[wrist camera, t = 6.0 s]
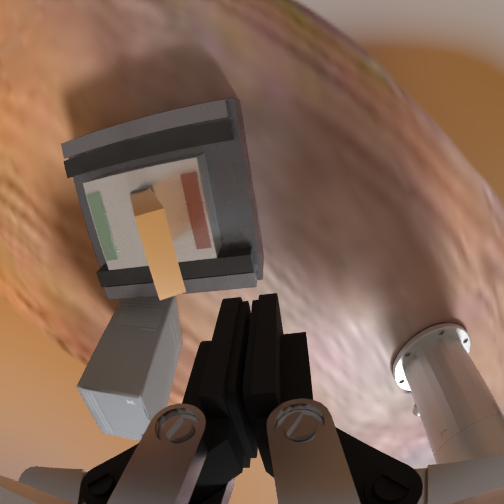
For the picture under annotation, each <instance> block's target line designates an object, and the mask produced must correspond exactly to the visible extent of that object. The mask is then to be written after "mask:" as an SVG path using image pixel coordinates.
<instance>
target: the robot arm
mask: <svg viewBox="0 0 504 504" xmlns="http://www.w3.org/2000/svg"><path fill="white" fill-rule="evenodd" d="M470 346H471V341H470V337H469V335H468V333H467V332H466V330H465V329H464V328H463V327H462V326H460V325H458V324H454V323H443V324H438V325H435V326H432V327H429V328H427V329H425V330H423V331H422V332H420V333H419V334H417V335H416V336H414V337H413V338H412V339H411V340H410V341H408V343H407V344H406V345H405V346H404V347H403V348H402V349H401V351H400V352H399V353H398V355H397V357H396V359H395V361H394V365H393V376H394V379H395V381H396V383H397V384H398V385H399V387H401V388H403V389H405V390H408V391H411V393H412V395H413V398H414V401H415V405H414V408H413V414H414V415H416V416H420V417H421V420H422V422H423V425H424V428H425V431H426V434H427V437H428V440H429V442H430V445H431V448H432V452H433V455H434V458H435V461H436V464H435V465H428V466H427V468H422V469H413V468H412V467H410V466H409V465H407V464H405V463H402V462H400V461H398V460H396V459H394V458H392V457H390V456H388V455H386V454H384V453H382V452H380V451H378V450H377V449H375V448H373V447H371V446H369V445H367V444H365V443H363V442H361V441H360V440H358V439H356V438H354V437H352V436H350V435H349V434H347V433H345V432H343V431H341V430H340V429H338V428H336V427H335V425H334V422H333V419H332V416H331V414H330V412H329V411H328V409H327V408H326V407H325V406H324V405H323V404H321V403H320V402H317V401H315V400H313V394H312V384H311V374H310V365H309V356H308V347H307V338H306V332H301V333H292V334H283V328H282V321H281V315H280V308H279V301H278V295H277V293H274V294H265V295H259V300H253V302H252V311H250V306H249V303H248V301H243V302H242V299H241V297H237V298H228V299H223V300H222V303H221V307H220V311H219V315H218V319H217V322H216V326H215V330H214V334H213V338H212V341H202V342H201V343H200V345H199V348H198V351H197V355H196V358H195V361H194V365H193V368H192V371H191V375H190V378H189V382H188V385H187V388H186V392H185V395H184V399H183V402H182V404H175V405H170V406H168V407H166V408H164V409H162V410H160V411H159V412H158V413H157V414H156V415H155V416H154V417H153V419H152V420H151V422H150V423H149V425H148V427H147V429H146V431H145V433H144V435H143V436H142V438H141V440H140V442H139V443H138V444H137V445H135V446H133V447H131V448H130V449H128V450H126V451H124V452H123V453H121V454H119V455H117V456H115V457H114V458H111V459H110V460H108V461H106V462H104V463H102V464H100V465H98V466H96V467H95V468H93V469H91V470H90V471H89V472H85V471H84V470H83V469H63V468H49V467H48V468H47V467H37V466H36V467H30V468H28V469H26V470H25V471H24V472H23V473H22V474H21V476H20V478H19V481H15V480H13V479H10V478H7V477H3V476H0V504H228V503H229V500H230V496H231V493H232V490H233V487H234V480H235V479H234V478H235V477H236V476H238V475H239V474H240V473H242V470H243V468H249V467H250V458H256V457H257V450H258V449H259V452H260V455H261V458H262V461H263V464H264V467H265V470H266V472H267V473H269V474H270V475H271V476H272V477H274V479H275V485H276V492H277V498H278V504H504V416H503V414H502V412H501V410H500V408H499V406H498V404H497V402H496V401H495V399H494V397H493V395H492V393H491V392H490V390H489V388H488V386H487V385H486V383H485V381H484V379H483V378H482V376H481V374H480V373H479V371H478V369H477V368H476V366H475V364H474V363H473V361H472V359H471V358H470V356H469V351H470Z"/></svg>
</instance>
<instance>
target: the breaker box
mask: <svg viewBox="0 0 504 504" xmlns="http://www.w3.org/2000/svg"><path fill="white" fill-rule="evenodd" d="M61 146H62V150H63V155H64V159H65V158H68V157H69V160H66V161H64V165H65V170H66V174H67V178H70V177H73V179H74V183H75V187H76V190H77V194H78V198H79V202H80V205H81V209H82V212H83V216H84V219H85V222H86V226H87V229H88V232H89V235H90V239H91V242H92V245H93V248H94V251H95V254H96V257H97V260H98V262H99V265H100V269H99V270H98V271H97V272H96V273H97V275H98V278H99V281H100V283H101V286H102V287H103V288H104V290H105V293H106V296H107V298H108V299H122V298H136V297H149V296H158V293H157V290H156V287H155V284H154V281H153V278H152V275H151V272H150V268H149V265H148V262H147V259H146V255H145V252H144V248H143V245H142V241H141V238H140V234H139V231H138V227H137V224H136V220H135V216H134V212H133V207H132V203H131V199H130V194H129V193H130V192H131V191H132V190H135V189H138V188H141V187H148V188H149V187H150V189H151V190H152V192H153V193H154V194H155V196H156V197H157V199H158V200H159V201H160V203H161V204H162V206H163V207H164V209H165V213H166V217H167V221H168V225H169V229H170V233H171V237H172V241H173V245H174V249H175V253H176V256H177V260H178V264H179V268H180V271H181V275H182V279H183V282H184V286H185V289H186V292H185V293H182V294H186V293H197V292H208V291H219V290H230V289H240V288H250V287H256V286H257V280H261V279H263V262H264V254H263V247H262V241H261V234H260V228H259V221H258V214H257V208H256V202H255V195H254V189H253V182H252V176H251V170H250V163H249V157H248V151H247V144H246V138H245V132H244V126H243V119H242V113H241V107H240V101H239V100H238V99H235V98H229V99H223V100H218V101H212V102H207V103H202V104H197V105H193V106H188V107H183V108H179V109H175V110H170V111H166V112H162V113H158V114H154V115H150V116H147V117H143V118H139V119H136V120H132V121H128V122H125V123H122V124H118V125H115V126H112V127H109V128H105V129H102V130H99V131H96V132H93V133H90V134H87V135H84V136H81V137H79V138H76V139H73V140H70V141H67V142H65V143H62V144H61Z"/></svg>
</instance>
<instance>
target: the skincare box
mask: <svg viewBox="0 0 504 504" xmlns="http://www.w3.org/2000/svg"><path fill="white" fill-rule="evenodd" d="M182 344H183V342H182V336H181V329H180V323H179V316H178V310H177V303H176V297H175V296H172V297H169V298H166V299H163V300H159V297H158V296H149V297H136V298H122V300H121V302H120V304H119V305H118V307H117V309H116V311H115V313H114V315H113V316H112V318H111V320H110V322H109V324H108V326H107V327H106V329H105V331H104V333H103V335H102V337H101V339H100V341H99V343H98V345H97V347H96V349H95V350H94V352H93V354H92V356H91V358H90V360H89V362H88V364H87V366H86V368H85V371H84V373H83V375H82V377H81V379H80V381H79V383H78V385H77V388H78V390H79V392H80V394H81V396H82V397H83V399H84V401H85V403H86V405H87V407H88V409H89V410H90V412H91V414H92V416H93V417H94V419H95V421H96V423H97V424H98V426H99V428H100V430H101V431H102V433H104V434H109V435H114V436H119V437H124V438H129V439H134V440H141V438H142V436H143V435H144V433H145V431H146V429H147V427H148V425H149V423H150V422H151V420H152V419H153V417H154V416H155V415H156V414H157V413H158V412H159V411H160V410H162V409H164V408H166V407H167V404H168V399H169V395H170V391H171V387H172V383H173V379H174V375H175V371H176V367H177V363H178V359H179V355H180V351H181V347H182Z"/></svg>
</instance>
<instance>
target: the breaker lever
mask: <svg viewBox="0 0 504 504" xmlns="http://www.w3.org/2000/svg"><path fill="white" fill-rule="evenodd" d="M129 194H130V199H131V203H132V207H133V212H134V216H135V220H136V224H137V227H138V231H139V234H140V238H141V241H142V245H143V248H144V252H145V255H146V259H147V262H148V265H149V268H150V272H151V275H152V278H153V281H154V284H155V287H156V290H157V293H158V297H159V300H163V299H166V298H169V297H172V296H175V295H179V294H182V293H185V292H186V289H185V286H184V282H183V279H182V275H181V271H180V268H179V264H178V260H177V256H176V253H175V249H174V245H173V241H172V237H171V233H170V229H169V225H168V221H167V217H166V213H165V209H164V207H163V206H162V204H161V203H160V201H159V200H158V199H157V197H156V196H155V194H154V193H153V192H152V190H151V189H150V187H149V188H148V187H141V188H138V189H135V190H132V191H131V192H130V193H129Z"/></svg>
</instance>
